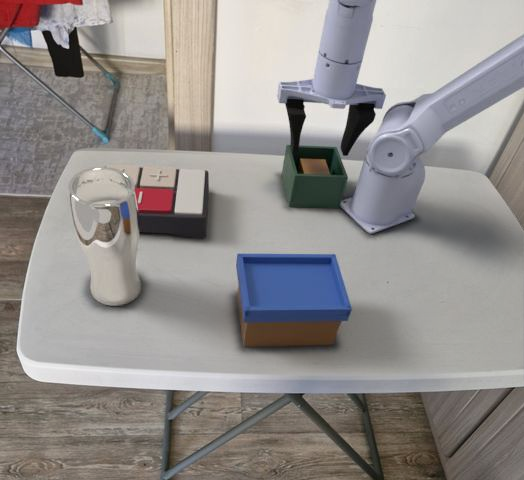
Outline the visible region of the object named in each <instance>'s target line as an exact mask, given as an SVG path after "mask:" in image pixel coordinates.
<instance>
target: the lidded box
mask: <svg viewBox="0 0 524 480" xmlns="http://www.w3.org/2000/svg"><path fill="white" fill-rule="evenodd" d="M235 268H236V275H237V284H238V287H237V294H236V299H237V300H236V301H237V308H238V314H239V323H240V330H241V331H240V332H241V338H242V346H243V347H244V348H247V347H249V348H251V347H286V346H287V347H289V346H291V347H292V346H330V345H331V346H332V345H334V342H335V339H336V337H337V334H338V332H339V328H340V326H341V324H342V322H348V321H349V318H350V316H351V313H352V310H353V308H352V305H351V301H350V297H349V295H348V291H347V288H346V284H345V282H344V279H343V275H342V272H341V268H340V265H339V262H338V258H337V255H336V254H335V253H330V254H329V253H237V254H236V261H235Z"/></svg>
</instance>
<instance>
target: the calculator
mask: <svg viewBox="0 0 524 480" xmlns="http://www.w3.org/2000/svg"><path fill="white" fill-rule="evenodd" d="M104 167H108V168H114V169H118V170H121V171H123V172H125V173H126V174H128V175H129V176H130V177H131V178H132V179H133V181H134V184H135V192H136V197H137V203H138V209H139V219H140V232H139V233H154V234H156V233H157V234H172V235H174V236H176V237H178V238H193V239H195V238H196V239H198V238H199V239H204V238H206V237H207V228H208V211H209V195H210V181H209V180H210V179H209V177H210V175H209V171H208V170H206V169H195V168H194V169H191V168H176V167H173V166H154V165H153V166H152V165H150V166H149V165H144V166H143V167H141V166H139V165H133V164H111V163H110V164H109V163H108V164H106V165H105V166H104Z"/></svg>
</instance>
